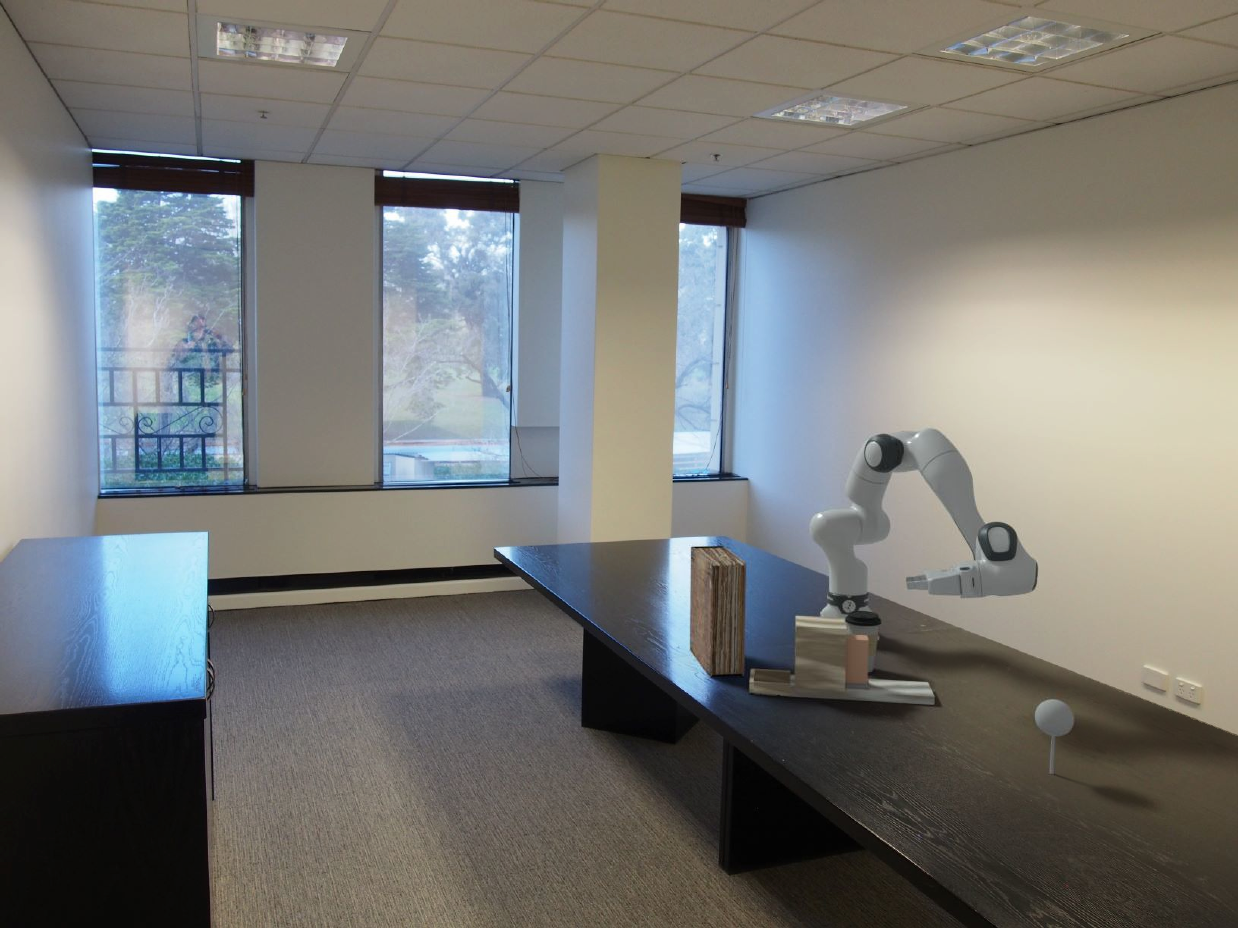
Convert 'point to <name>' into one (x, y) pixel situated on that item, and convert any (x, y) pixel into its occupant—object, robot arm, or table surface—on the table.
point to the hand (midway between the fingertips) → (906, 582)
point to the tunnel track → (830, 670)
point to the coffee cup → (865, 630)
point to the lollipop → (1054, 722)
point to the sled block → (856, 662)
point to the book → (717, 610)
